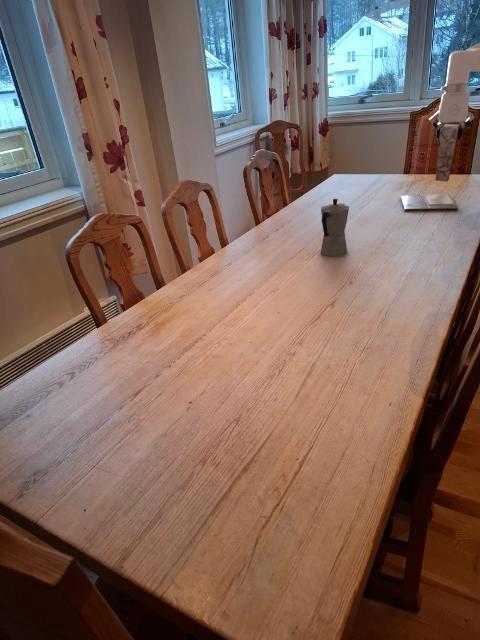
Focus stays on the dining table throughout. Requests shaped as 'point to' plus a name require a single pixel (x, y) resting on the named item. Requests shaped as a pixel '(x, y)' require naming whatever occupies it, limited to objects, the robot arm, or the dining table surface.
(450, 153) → the stone block
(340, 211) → the coffeepot
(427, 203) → the board
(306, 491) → the dining table surface
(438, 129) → the robot arm
